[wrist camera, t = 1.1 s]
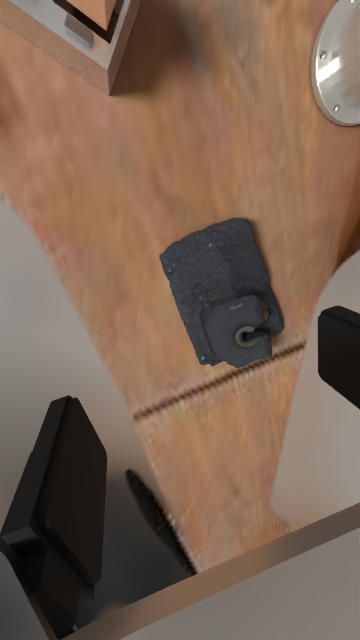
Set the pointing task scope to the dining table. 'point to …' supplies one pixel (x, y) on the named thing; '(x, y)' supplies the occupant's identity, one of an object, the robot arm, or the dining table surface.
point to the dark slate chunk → (223, 293)
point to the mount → (72, 36)
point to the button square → (96, 10)
